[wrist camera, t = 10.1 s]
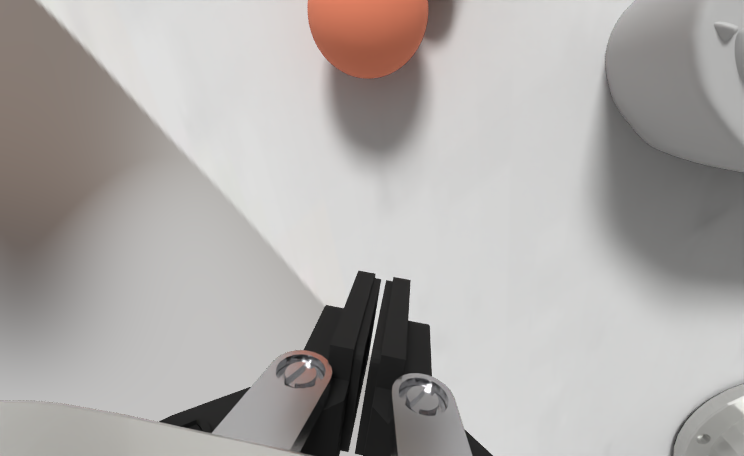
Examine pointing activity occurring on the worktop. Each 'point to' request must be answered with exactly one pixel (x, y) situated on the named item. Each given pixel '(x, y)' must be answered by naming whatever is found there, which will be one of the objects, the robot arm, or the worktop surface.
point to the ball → (368, 33)
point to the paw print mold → (682, 77)
